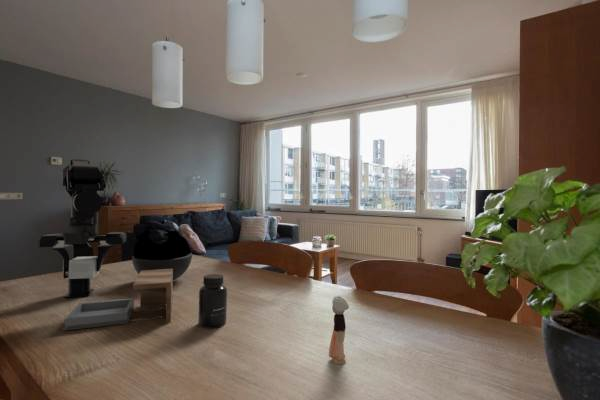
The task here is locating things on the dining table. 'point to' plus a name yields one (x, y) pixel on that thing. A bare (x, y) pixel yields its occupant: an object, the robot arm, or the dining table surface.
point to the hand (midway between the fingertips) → (85, 271)
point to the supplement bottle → (212, 302)
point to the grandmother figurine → (338, 330)
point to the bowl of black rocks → (162, 254)
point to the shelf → (156, 289)
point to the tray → (100, 314)
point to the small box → (83, 267)
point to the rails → (144, 318)
